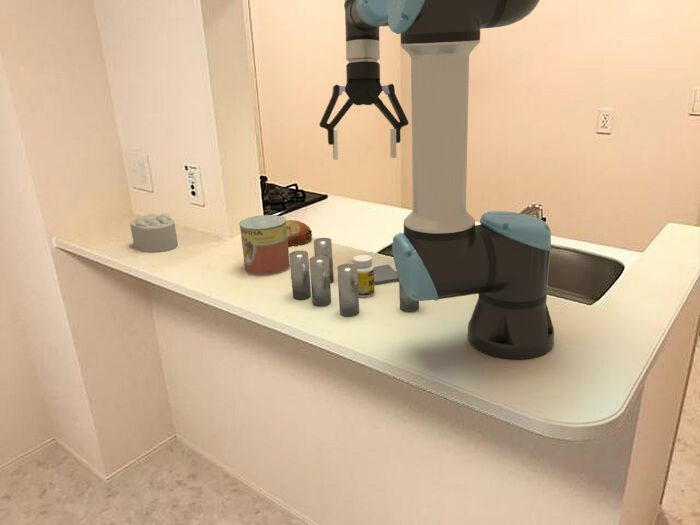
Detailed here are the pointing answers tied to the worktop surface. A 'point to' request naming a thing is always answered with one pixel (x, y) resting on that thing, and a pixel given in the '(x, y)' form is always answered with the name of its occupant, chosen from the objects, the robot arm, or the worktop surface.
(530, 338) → the robot arm
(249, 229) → the canned food
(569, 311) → the worktop surface
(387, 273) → the mat
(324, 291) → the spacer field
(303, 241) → the bread roll
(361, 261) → the supplement bottle
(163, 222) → the lumpy-topped squat cylinder
